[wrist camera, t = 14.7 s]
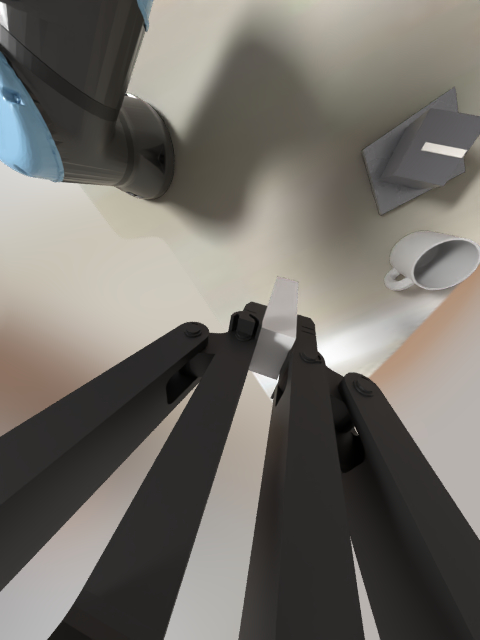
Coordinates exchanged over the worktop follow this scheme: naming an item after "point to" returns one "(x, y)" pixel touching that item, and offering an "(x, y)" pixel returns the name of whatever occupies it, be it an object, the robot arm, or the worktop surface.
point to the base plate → (382, 151)
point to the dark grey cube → (431, 149)
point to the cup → (431, 261)
